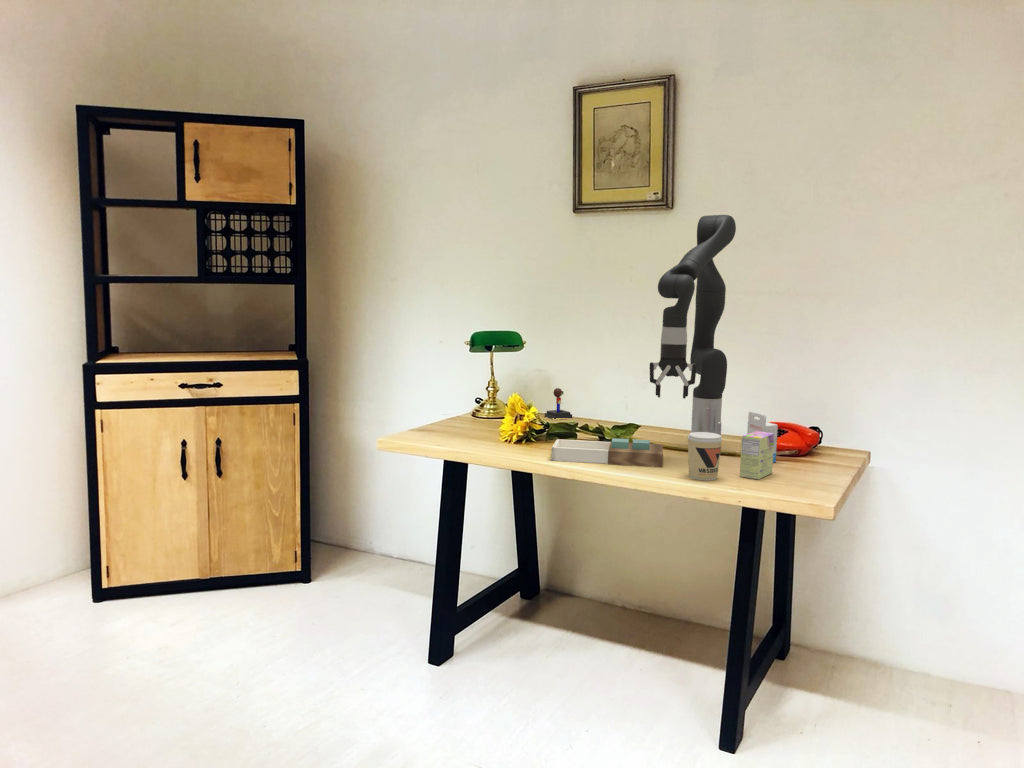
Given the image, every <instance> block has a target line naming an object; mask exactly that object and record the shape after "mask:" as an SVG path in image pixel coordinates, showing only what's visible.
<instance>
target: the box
mask: <svg viewBox="0 0 1024 768" xmlns="http://www.w3.org/2000/svg"><path fill="white" fill-rule="evenodd" d="M740 442H741V443H740V463H739V465H740V466H739V477H741V478H747V479H753V480H761V479H763V478H765V477H766V476H768V475H772V473H773V464H774V462H773V446H774V433H768V432H760V431H755V432H752V433H749V434H747V433H746V434H743V435H741V441H740Z"/></svg>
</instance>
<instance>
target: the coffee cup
mask: <svg viewBox="0 0 1024 768" xmlns="http://www.w3.org/2000/svg"><path fill="white" fill-rule="evenodd" d="M722 442H723V437H722V434H721V435H719V434H716V433H709V432H692V433H691V432H690V433H688V435H687V452H688V453H687V454H688V455H687V457H688V458H687V459H688V477H689V479H693V480H697V481H715V480H717V479H718V473H719V466H720V457H721V451H722V449H721V448H722Z"/></svg>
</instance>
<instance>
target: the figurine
mask: <svg viewBox="0 0 1024 768" xmlns="http://www.w3.org/2000/svg"><path fill="white" fill-rule="evenodd" d="M552 393H553V396H554V397H556V398H555V400H556V402H555V404H556V409H551V410H550V409H549V410H546V412H545V413H544V418H546V417H548V418H547V419H550V418H554V419H556V418H572V419H573V414H572V413H571V411H568V410H563V409H561V404H562V398H561V397H562V396H563V395H564V391H562V389H561V388H559V387H556V388H555V389H553V392H552Z"/></svg>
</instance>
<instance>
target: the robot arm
mask: <svg viewBox="0 0 1024 768" xmlns="http://www.w3.org/2000/svg"><path fill="white" fill-rule="evenodd" d="M736 231H737V226H736V221H735V218H734V217H733V216H731V215H729V214H714V215H713V214H712V215H703V216H701V217H700V218H699V220H698V222H697V226H696V246H694V247H693V248H691V249H690V250H689V251H687V253H685V254H684V255H683V257H682V258H681V259H680V261H679V262H678V263H677V264H676V265H674V266H673V267H672V268H670V269H669V270H667V271H666V272H665V273H663V275H662V276H661V277H660V279H659V280H658V284H657V292H658V293H659V295H660V296H661V297H662V298H664V299H677V301H676V304H675V305H671V306H668V307H665V308H664V309H663V312H662V329H661V335H660V357H659V361H658V362H653V361H652V362H651V361H650V362H649V382H650V383H652V384H654V385H655V396H656V397H657V398H660V399H661V386H662V385H661V382H662V381H663V379H664V378H665V377H676V378H678V377H680V379H681V381H682V383H683V386H682V387H683V389H682V399H686V397H688V396H689V387H690V386H691V385H695V384H696V375H700V377H699V378H700V379H699V383H698V385H697V386H695V387H694V388H693V390H692V407H691V408H692V410H691V429H690V430H691V431H690V433H692V432H709V433H716V434H719V435H721V436H722V404H723V394H724V392H725V389H726V385H727V384H726V383H727V382H726V381H727V374H728V373H727V372H728V361H727V360H728V359H727V356H726V354H725V353H724V352H723V350H720V349H718V348H715V334H716V333H715V332H716V329H717V326H718V324H719V322H720V320H721V317H722V316H723V313H724V311H725V305H726V290H727V289H726V283H725V281H724V279H723V277H722V275H721V274H720V272H719V270H718V268H717V266H716V265H715V261H714V259H713V258H715V257H716V256H717V255H718V254H719V253H720V252H722V250H724V249H725V248H726V247H727V246H728V245H730V244H731V242H732V241H733V240H734V238H735V235H736ZM695 280H696V284H695ZM695 287H696V288H695ZM694 294H695V310H694V312H695V313H694V326H693V327H694V331H693V338H692V343H691V344H692V345H691V351H690V356H689V357H690V359H689V360H690V363H688V362H687V347H688V331H687V329H688V328H687V327H688V313H689V309H690V305H691V302H692V299H693V296H694ZM657 367H659V369H660V371H661V373H660V374H659V376H658V377H657V378H656V379H655V370H657ZM687 368H688V370H689V372H690V373H691V374H690V380H688V379H687V378H686V376H685V374H684V371H686V369H687Z"/></svg>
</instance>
